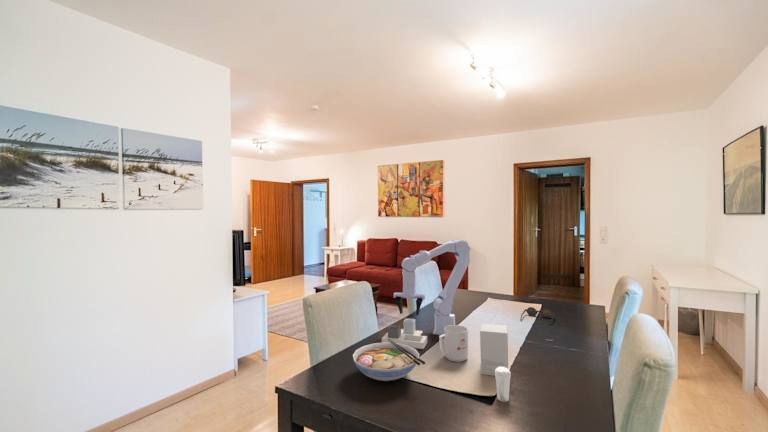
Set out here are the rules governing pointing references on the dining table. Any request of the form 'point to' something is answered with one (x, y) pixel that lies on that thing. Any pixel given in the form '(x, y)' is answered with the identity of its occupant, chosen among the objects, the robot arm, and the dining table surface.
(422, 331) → the pad
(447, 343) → the mug
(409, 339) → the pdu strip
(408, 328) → the plug block
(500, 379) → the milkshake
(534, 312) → the eyeglasses
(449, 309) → the robot arm
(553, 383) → the dining table surface
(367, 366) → the ramen bowl
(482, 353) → the supplement box
